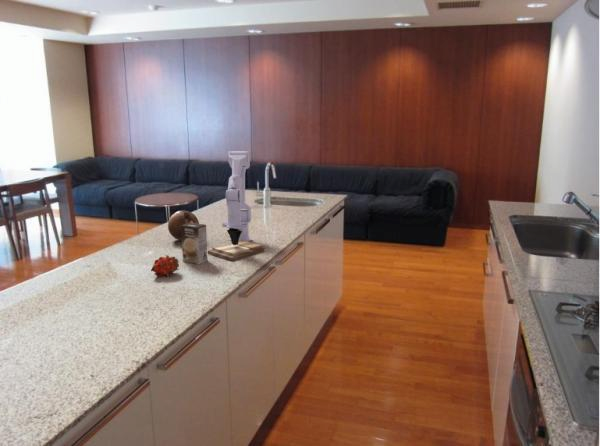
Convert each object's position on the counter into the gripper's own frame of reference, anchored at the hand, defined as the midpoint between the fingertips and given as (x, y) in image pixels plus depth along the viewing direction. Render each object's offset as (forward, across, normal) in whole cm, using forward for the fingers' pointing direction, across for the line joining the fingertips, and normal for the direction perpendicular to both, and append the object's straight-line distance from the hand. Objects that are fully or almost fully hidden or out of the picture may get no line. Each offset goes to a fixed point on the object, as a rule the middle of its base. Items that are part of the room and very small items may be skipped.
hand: (235, 244), depth 223 cm
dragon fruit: (+4, +2, -38) cm, 39 cm away
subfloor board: (+4, 0, 0) cm, 4 cm away
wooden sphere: (+4, -35, -2) cm, 35 cm away
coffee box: (+4, -4, -20) cm, 20 cm away
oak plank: (+2, 0, -3) cm, 3 cm away
